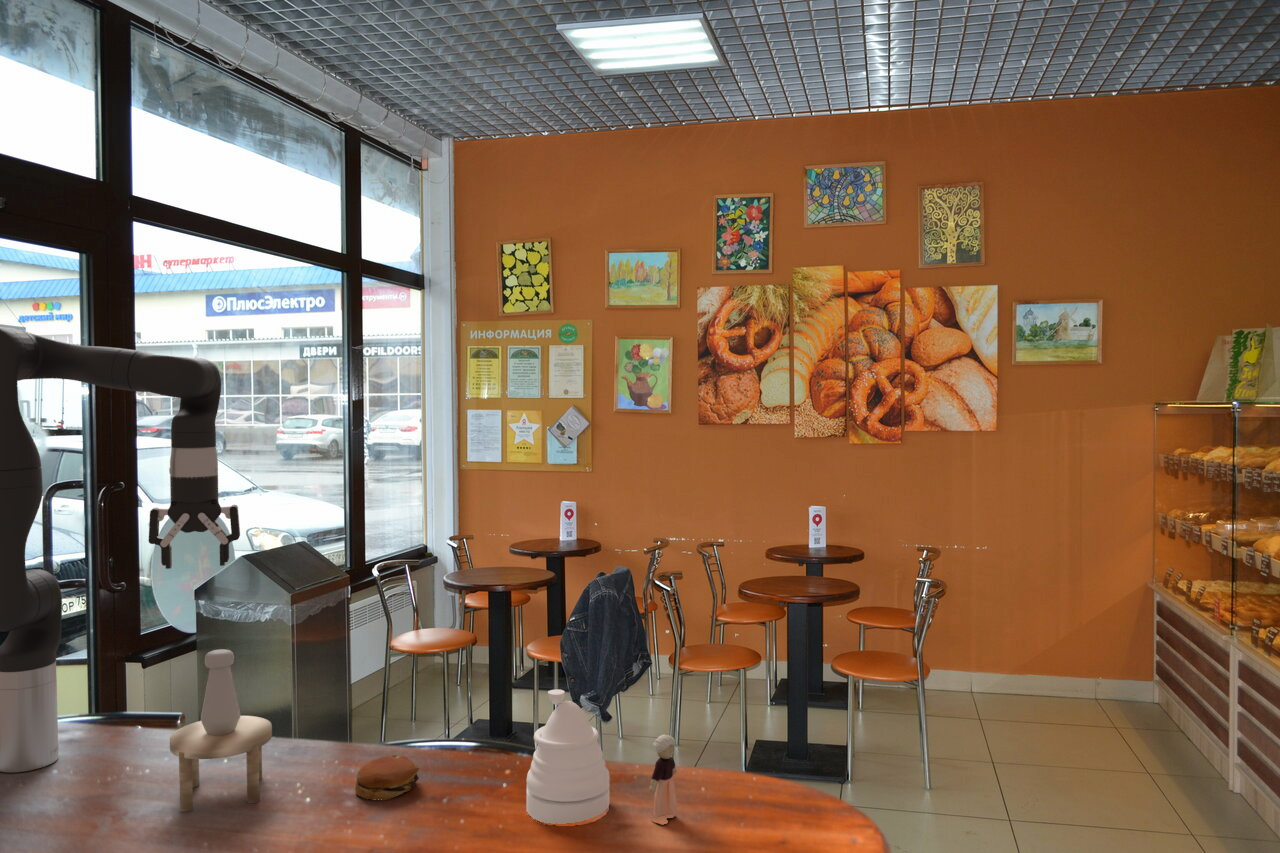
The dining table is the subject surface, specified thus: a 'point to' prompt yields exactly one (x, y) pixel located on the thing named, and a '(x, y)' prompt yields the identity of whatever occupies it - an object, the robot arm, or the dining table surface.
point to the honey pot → (567, 768)
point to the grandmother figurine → (664, 777)
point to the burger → (386, 777)
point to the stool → (219, 753)
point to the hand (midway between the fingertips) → (195, 566)
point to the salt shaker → (220, 695)
